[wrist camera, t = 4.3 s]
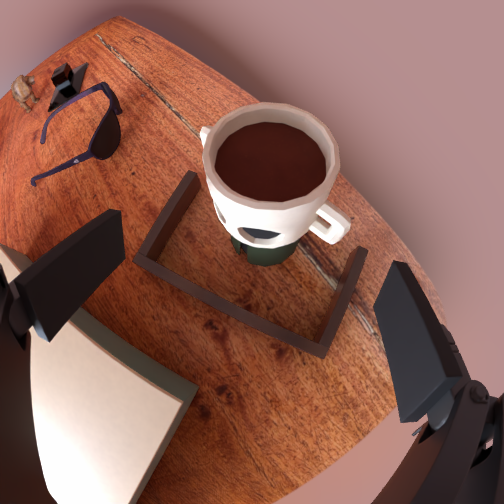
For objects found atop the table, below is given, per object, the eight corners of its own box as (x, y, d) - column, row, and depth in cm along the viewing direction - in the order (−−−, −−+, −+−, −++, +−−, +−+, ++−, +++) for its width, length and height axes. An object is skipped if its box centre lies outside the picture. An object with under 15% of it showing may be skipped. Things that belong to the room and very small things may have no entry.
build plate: (60, 78, 36) (51, 64, 32) (89, 62, 36) (81, 47, 32) (48, 112, 33) (36, 97, 28) (80, 94, 33) (69, 76, 29)
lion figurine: (50, 96, 34) (30, 67, 25) (32, 116, 33) (10, 89, 24) (28, 90, 36) (12, 67, 28) (13, 108, 35) (-5, 85, 26)
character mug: (196, 228, 26) (149, 144, 13) (244, 177, 27) (236, 75, 14) (288, 302, 23) (324, 271, 11) (333, 241, 25) (393, 166, 12)
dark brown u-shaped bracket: (359, 257, 24) (368, 249, 22) (317, 356, 22) (323, 359, 20) (193, 182, 27) (188, 169, 25) (142, 267, 25) (131, 261, 22)
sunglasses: (124, 162, 28) (106, 137, 23) (31, 204, 27) (9, 189, 22) (126, 95, 32) (115, 71, 27) (44, 134, 31) (29, 117, 26)
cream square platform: (199, 386, 22) (182, 403, 16) (120, 529, 15) (102, 552, 10) (25, 254, 25) (-6, 240, 19) (-15, 402, 19) (-41, 404, 13)
